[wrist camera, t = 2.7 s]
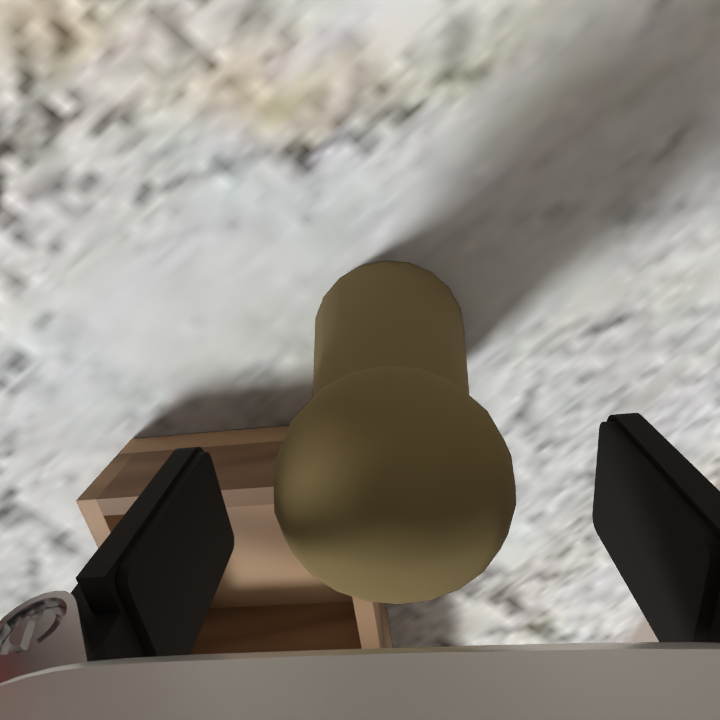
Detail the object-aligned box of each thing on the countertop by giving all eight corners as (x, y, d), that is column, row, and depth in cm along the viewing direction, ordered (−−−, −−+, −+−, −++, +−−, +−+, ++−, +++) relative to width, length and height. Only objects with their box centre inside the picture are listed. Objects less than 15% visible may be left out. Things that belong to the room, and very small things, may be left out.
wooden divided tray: (131, 438, 21) (76, 500, 17) (358, 419, 20) (352, 481, 16) (234, 708, 29) (212, 791, 25) (400, 704, 28) (403, 790, 24)
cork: (400, 226, 17) (423, 328, 7) (494, 344, 19) (624, 565, 8) (283, 326, 19) (166, 523, 9) (378, 425, 20) (373, 686, 10)
